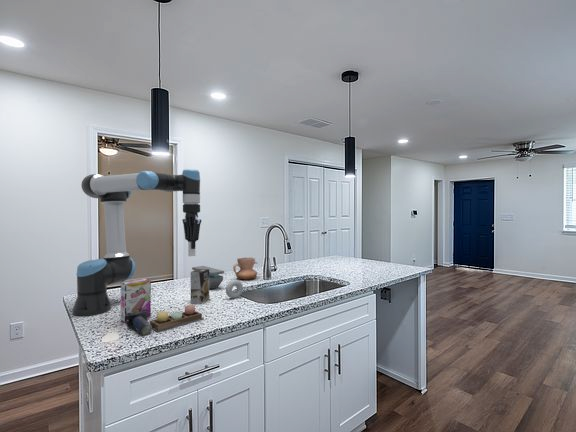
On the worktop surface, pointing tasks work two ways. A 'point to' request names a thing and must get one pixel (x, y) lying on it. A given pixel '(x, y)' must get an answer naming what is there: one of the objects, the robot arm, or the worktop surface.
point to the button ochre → (162, 316)
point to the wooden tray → (175, 322)
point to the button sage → (176, 316)
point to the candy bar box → (135, 297)
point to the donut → (238, 290)
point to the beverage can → (139, 322)
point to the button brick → (189, 309)
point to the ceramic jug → (245, 268)
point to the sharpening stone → (212, 276)
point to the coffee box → (199, 286)
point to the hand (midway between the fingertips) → (191, 255)
